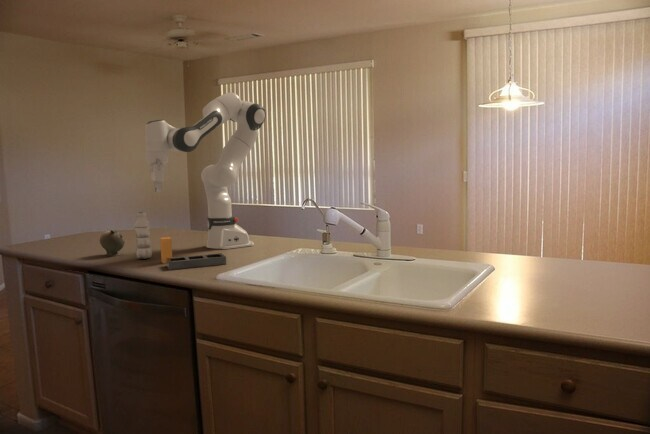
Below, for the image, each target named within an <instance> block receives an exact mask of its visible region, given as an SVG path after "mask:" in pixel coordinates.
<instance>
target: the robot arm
mask: <svg viewBox="0 0 650 434" xmlns="http://www.w3.org/2000/svg"><path fill="white" fill-rule="evenodd" d="M266 116H267V113H266V109H265V108H264V106H262V105H261V104H258V103H255V102H252V101H248V100H241V98H240V97H239V95H238V94H237V93H235V92H227V93H226V92H225V93H224V94H222V95H219V96H217V97H215V98H214V99H212V100H211V101H209V102H208V103H207V104H206V105H205V106H204V107H203V108H202V118H201V119H199V121H197V122H196V123H195V124H192V126H186V127H180V128H177V127H174V126H172V125H170V124H169V123H168V122H167V121H166V120H164V119H156V120H155V119H154V120H149V121H148V122H146V124H145V129H144V130H145V131H144V132H145V133H144V141H145V146H146V147H145V164H148V167H149V172H150V179H151V181H153V184H154V185H153V186H154V192H156V193H157V194H161V193H162V185H163V184H162V183H164V182H165V169H164V168H166V164H169V151H170V152H178V153H179V152H182V153H190V152H192V151H195V149H197V147H198V146H199V144H200V143H201V141H202V139H203V138H205V137H206V136H207V135H209V134H210V133H211V132H212V131H214V130H215V129H216V128H218V127H220V126H221V125H223V124H225V123H226V122H228V121H229V120H230V121H232V122H233V123H236V124H237V129H236V130H235V131H234V132H233V134H232V135H231V136H230V138H229V139H228V140H227V142H226V144H225V145H224V147H222V150H221V154H220V157H219V159H218V161H217V162H216V164H209V165H208V166H206V167H204V168H203V169H202V171H201V175H200V178H201V181H202V183H203V188H204V190H205V191H204V193H205V194H206V201H207V216H208V217H207V222H206V223H207V229H208V232H207V242H206V246H205V247H206V248H208V249H219V250H230V249H237V248H244V247H252V246H254V245H255V243H254V241H252V240H250V237H249V234H248V232H247V230H245V229H244V228H243V227H241V226H240V225H238V222H240V221H239V218H238V217H234V216H233V214H232V213H233V211H232V207H233V206H232V199H231V197H230V194H229V189H228V188H230V187H232V186H234V185H235V184H236V182H237V178H238V173H239V171H240V168H241V166H242V164H243V162H244V160H245V159H246V158H247V156H248V155H249V153H250V151H251V150H252V148H253V147H254V145H255V143H256V141H257V139H258V136H259V129H261V127H262V126H263V124H264V122H265V120H266V118H267V117H266Z"/></svg>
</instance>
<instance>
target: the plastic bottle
mask: <svg viewBox="0 0 650 434" xmlns="http://www.w3.org/2000/svg"><path fill="white" fill-rule="evenodd" d="M136 217H137V219H136V220H135V222H134V225H133V226H134V230H135V236H136V250H135V254H136V257H137V259H140V260H146V259H149V258H150V259H151V257H152V256H153V251H152V247H151V240H150V235H151V234H150V231H151V223H150V221H149V220H148V218H147V212H146V211H137V212H136Z"/></svg>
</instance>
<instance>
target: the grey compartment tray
mask: <svg viewBox="0 0 650 434" xmlns="http://www.w3.org/2000/svg"><path fill="white" fill-rule="evenodd" d="M165 264H166V268H167V269H168V270H169V271H171V270H172V271H173V270H181V269H192V268H193V269H194V268H202V267H213V266H223V264H224V265H227V256H225V254H223V253H211V254H199V255H198V254H197V255H190V256H189V255H186V256H179V257H178V256H177V257H172V258H166V263H165Z"/></svg>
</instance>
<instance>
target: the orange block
mask: <svg viewBox="0 0 650 434" xmlns="http://www.w3.org/2000/svg"><path fill="white" fill-rule="evenodd" d="M159 239H160V240H159V241H160V242H159V243H160V258H161V259H160V261H161V263H162V264H166V258H173V245H172V242H173V241H172V237H170V236H167V237H160V238H159Z"/></svg>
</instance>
